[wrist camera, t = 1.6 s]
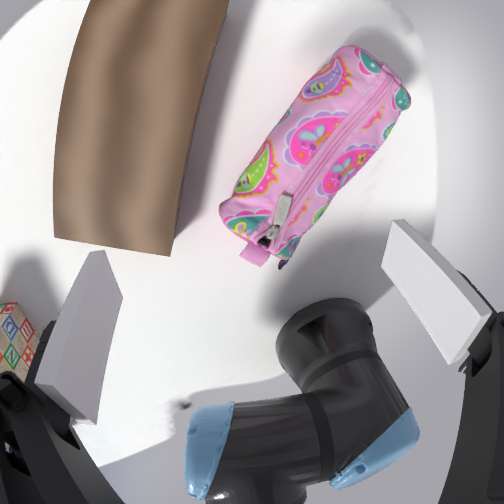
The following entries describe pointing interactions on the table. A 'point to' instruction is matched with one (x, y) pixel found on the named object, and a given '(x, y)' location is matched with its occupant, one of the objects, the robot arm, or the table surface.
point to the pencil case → (313, 153)
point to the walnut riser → (131, 120)
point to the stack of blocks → (16, 340)
